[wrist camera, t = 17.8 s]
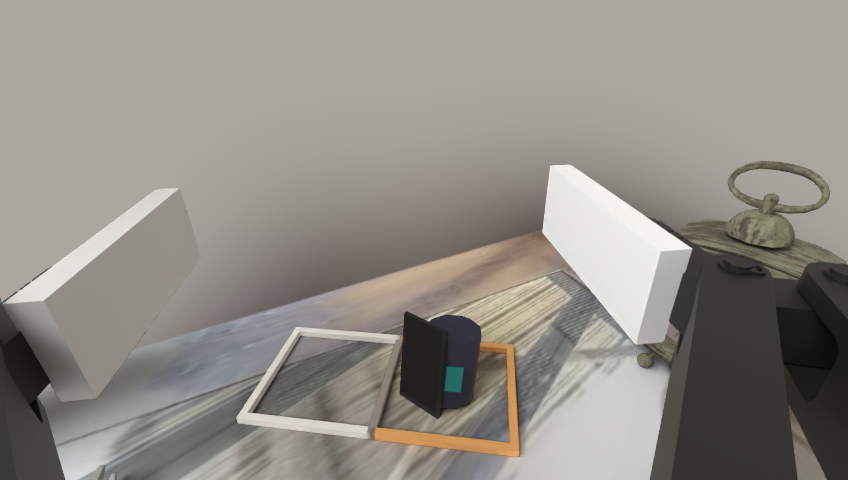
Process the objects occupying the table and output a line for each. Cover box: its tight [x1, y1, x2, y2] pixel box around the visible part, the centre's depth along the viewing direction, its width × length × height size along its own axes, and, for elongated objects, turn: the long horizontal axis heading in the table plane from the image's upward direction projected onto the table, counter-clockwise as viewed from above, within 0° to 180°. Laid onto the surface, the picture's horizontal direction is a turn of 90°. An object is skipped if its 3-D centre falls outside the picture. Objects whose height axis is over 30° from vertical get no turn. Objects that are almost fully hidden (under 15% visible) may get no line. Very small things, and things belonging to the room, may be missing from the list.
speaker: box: [400, 312, 481, 419], centre depth 43 cm, size 8×6×10 cm
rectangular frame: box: [236, 327, 519, 457], centre depth 47 cm, size 28×15×1 cm, turn 81°
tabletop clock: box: [637, 161, 846, 368], centre depth 41 cm, size 14×9×25 cm, turn 41°
